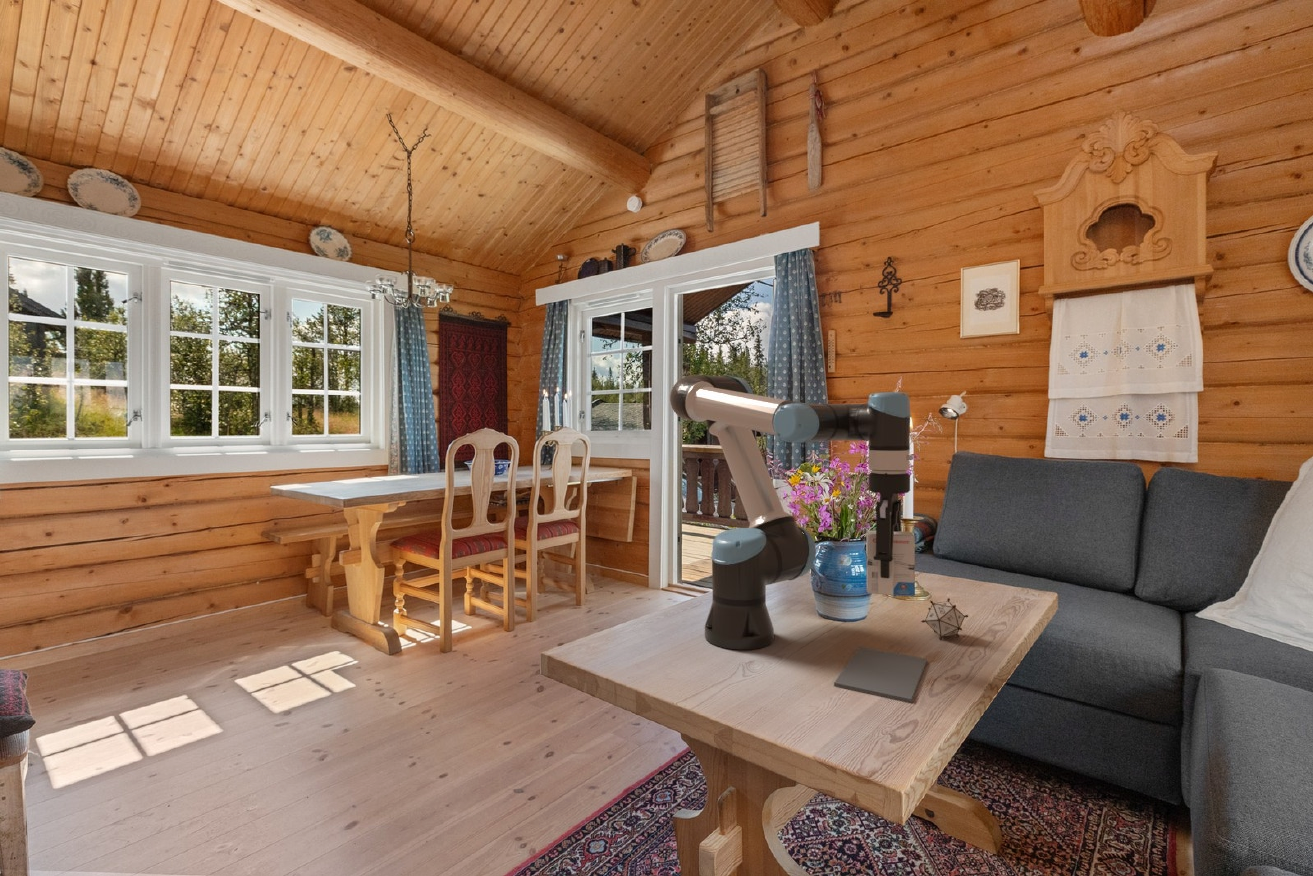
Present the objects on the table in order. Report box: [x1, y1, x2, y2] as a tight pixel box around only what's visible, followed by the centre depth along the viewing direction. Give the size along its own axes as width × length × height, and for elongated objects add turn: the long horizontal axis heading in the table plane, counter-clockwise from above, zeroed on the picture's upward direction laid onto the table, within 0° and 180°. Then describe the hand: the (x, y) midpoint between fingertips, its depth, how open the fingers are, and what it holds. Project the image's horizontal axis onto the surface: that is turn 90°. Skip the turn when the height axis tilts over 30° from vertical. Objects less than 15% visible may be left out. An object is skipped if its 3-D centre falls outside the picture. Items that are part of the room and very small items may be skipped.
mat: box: [833, 646, 928, 704], centre depth 115 cm, size 13×20×1 cm, turn 149°
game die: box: [920, 597, 969, 641], centre depth 134 cm, size 9×8×10 cm
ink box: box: [865, 530, 916, 597], centre depth 119 cm, size 9×5×12 cm, turn 75°
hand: (889, 589), depth 119 cm, fingers closed on ink box, 6 cm apart
